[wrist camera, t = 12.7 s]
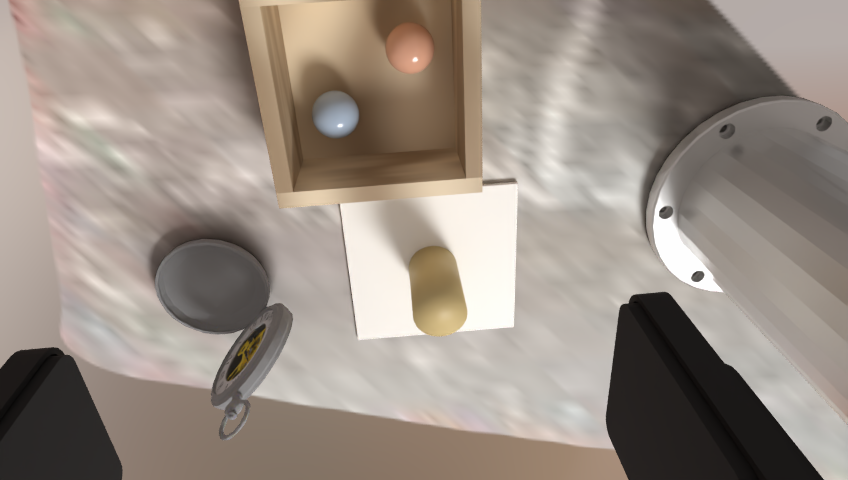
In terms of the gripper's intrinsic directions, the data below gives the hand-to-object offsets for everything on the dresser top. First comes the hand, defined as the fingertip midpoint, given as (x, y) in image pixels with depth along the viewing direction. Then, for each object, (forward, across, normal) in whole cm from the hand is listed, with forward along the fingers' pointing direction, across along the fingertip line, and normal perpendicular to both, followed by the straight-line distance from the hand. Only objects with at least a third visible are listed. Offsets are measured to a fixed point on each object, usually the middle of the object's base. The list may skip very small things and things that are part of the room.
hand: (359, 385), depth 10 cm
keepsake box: (+23, 0, 0) cm, 23 cm away
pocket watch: (+24, +10, +13) cm, 29 cm away
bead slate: (+23, +2, +1) cm, 23 cm away
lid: (+24, -3, +12) cm, 27 cm away
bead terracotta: (+23, -2, -2) cm, 23 cm away
